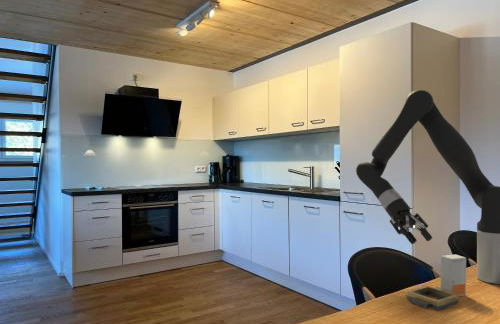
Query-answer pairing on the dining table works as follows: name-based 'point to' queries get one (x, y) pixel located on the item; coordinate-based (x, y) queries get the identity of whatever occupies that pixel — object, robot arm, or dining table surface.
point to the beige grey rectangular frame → (421, 300)
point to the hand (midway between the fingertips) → (422, 241)
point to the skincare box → (453, 274)
